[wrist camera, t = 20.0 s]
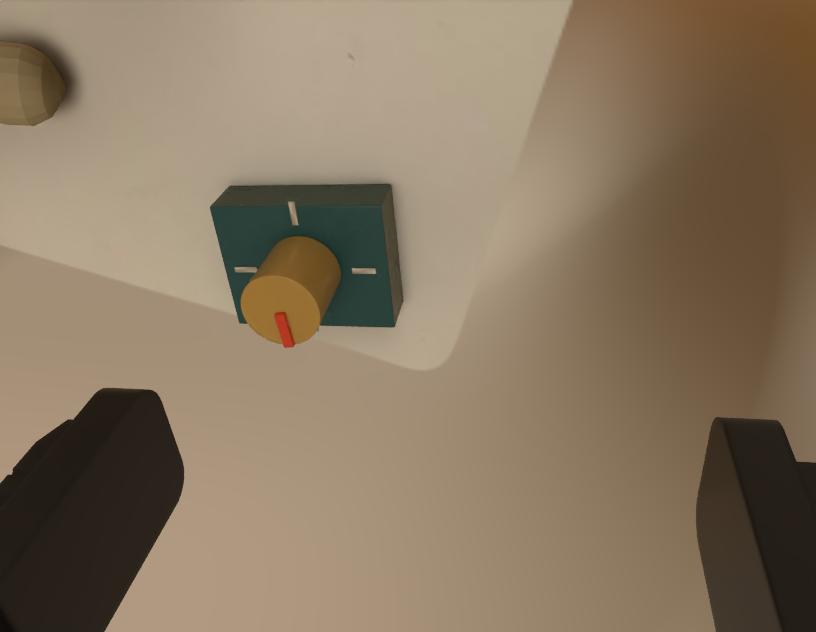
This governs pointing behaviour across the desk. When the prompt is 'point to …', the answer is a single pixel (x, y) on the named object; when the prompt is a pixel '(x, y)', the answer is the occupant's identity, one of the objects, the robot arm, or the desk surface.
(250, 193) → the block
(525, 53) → the desk surface
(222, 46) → the desk surface
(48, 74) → the decorative mushroom
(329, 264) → the tan cylinder
